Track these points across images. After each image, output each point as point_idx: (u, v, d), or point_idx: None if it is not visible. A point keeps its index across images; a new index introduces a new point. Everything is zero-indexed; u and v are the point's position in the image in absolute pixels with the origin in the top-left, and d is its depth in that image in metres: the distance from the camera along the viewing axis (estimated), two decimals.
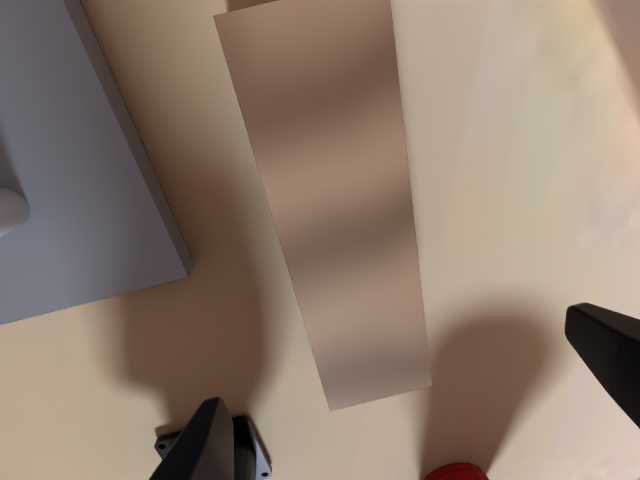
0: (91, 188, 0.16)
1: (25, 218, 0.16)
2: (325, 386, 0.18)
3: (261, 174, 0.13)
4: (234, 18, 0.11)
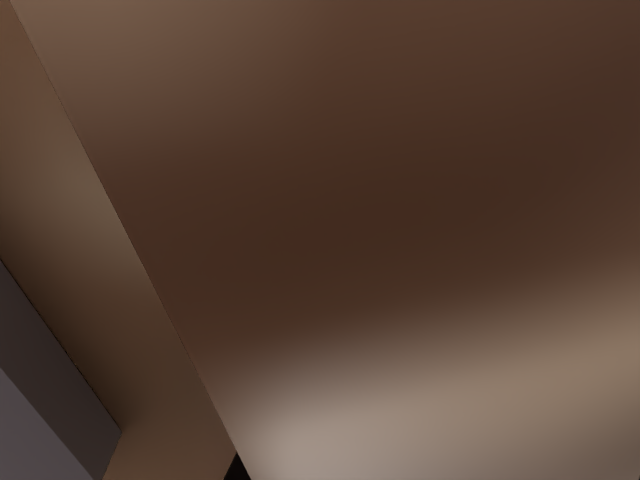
0: None
1: None
2: None
3: (224, 415, 0.04)
4: None
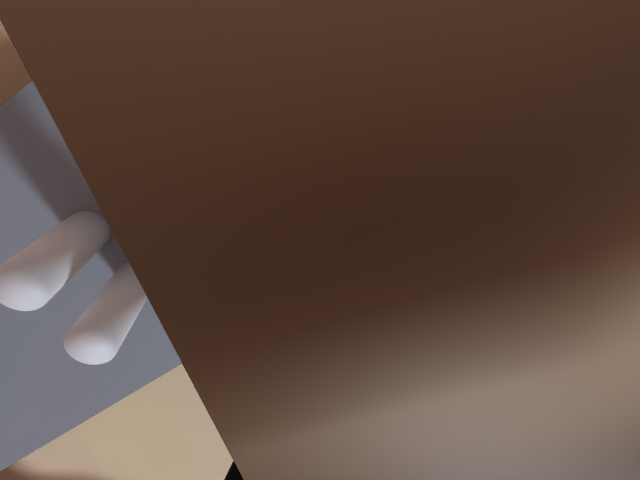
0: None
1: None
2: None
3: (222, 427, 0.04)
4: None
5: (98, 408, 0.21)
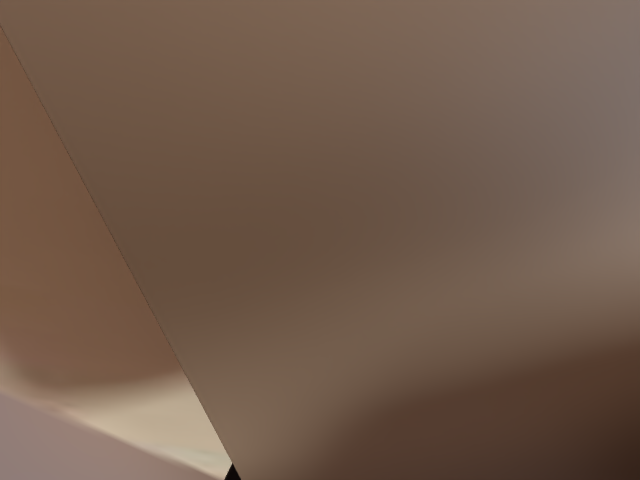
0: None
1: None
2: None
3: (219, 426, 0.04)
4: None
5: None
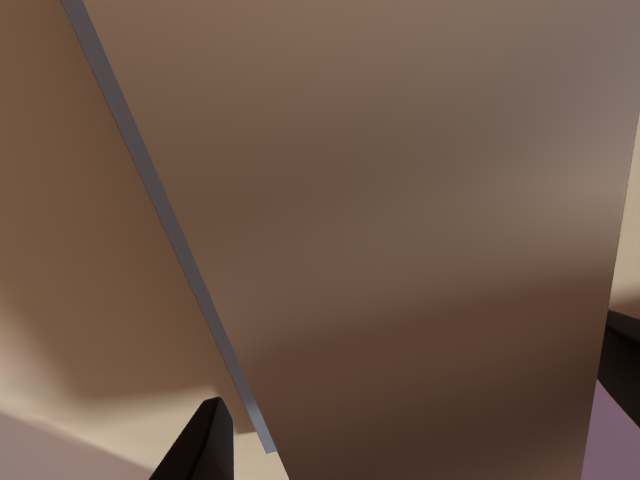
0: None
1: None
2: None
3: (236, 346, 0.05)
4: None
5: None
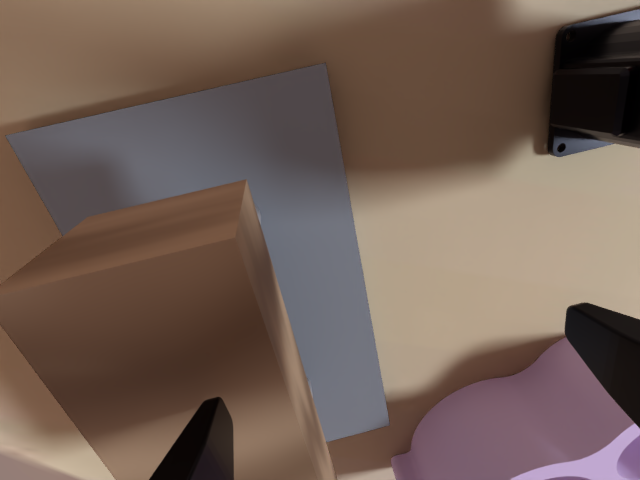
0: (222, 142, 0.17)
1: None
2: None
3: (96, 449, 0.10)
4: (15, 299, 0.08)
5: (366, 314, 0.22)
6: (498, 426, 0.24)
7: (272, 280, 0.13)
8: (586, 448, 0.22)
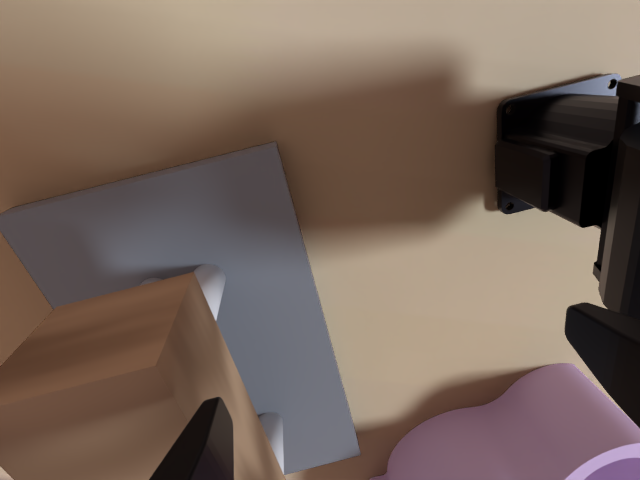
0: (185, 217, 0.18)
1: (215, 268, 0.19)
2: None
3: None
4: None
5: (330, 358, 0.23)
6: (464, 456, 0.26)
7: (218, 359, 0.14)
8: None
